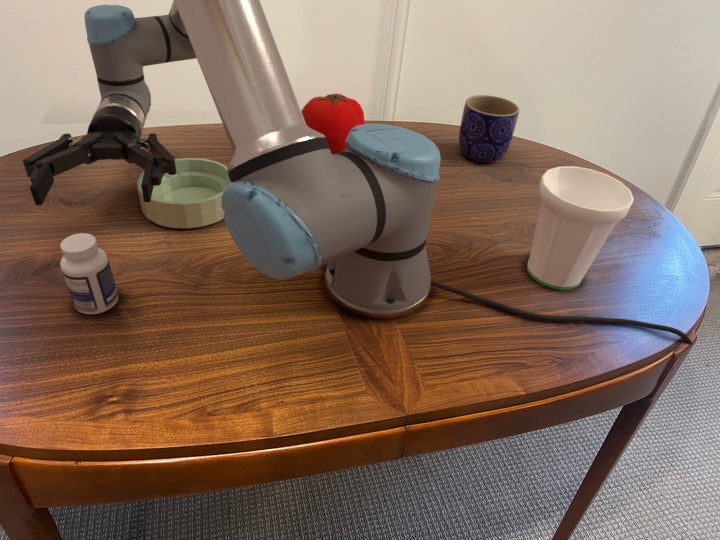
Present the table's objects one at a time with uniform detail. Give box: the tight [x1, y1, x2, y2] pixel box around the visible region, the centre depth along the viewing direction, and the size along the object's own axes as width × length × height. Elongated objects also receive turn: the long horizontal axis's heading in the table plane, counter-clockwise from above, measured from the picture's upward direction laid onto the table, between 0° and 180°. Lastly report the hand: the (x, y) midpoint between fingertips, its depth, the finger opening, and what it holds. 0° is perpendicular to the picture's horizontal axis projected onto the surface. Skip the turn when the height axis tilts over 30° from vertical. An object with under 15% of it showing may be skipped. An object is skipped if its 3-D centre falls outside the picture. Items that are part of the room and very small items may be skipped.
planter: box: [458, 94, 520, 164], centre depth 111 cm, size 11×11×11 cm
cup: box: [526, 165, 635, 291], centre depth 79 cm, size 12×12×15 cm
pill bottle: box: [59, 232, 119, 316], centre depth 68 cm, size 5×5×10 cm
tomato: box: [301, 93, 366, 154], centre depth 107 cm, size 12×13×12 cm
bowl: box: [136, 157, 231, 230], centre depth 89 cm, size 15×15×5 cm
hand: (91, 195), depth 71 cm, fingers open, 13 cm apart
